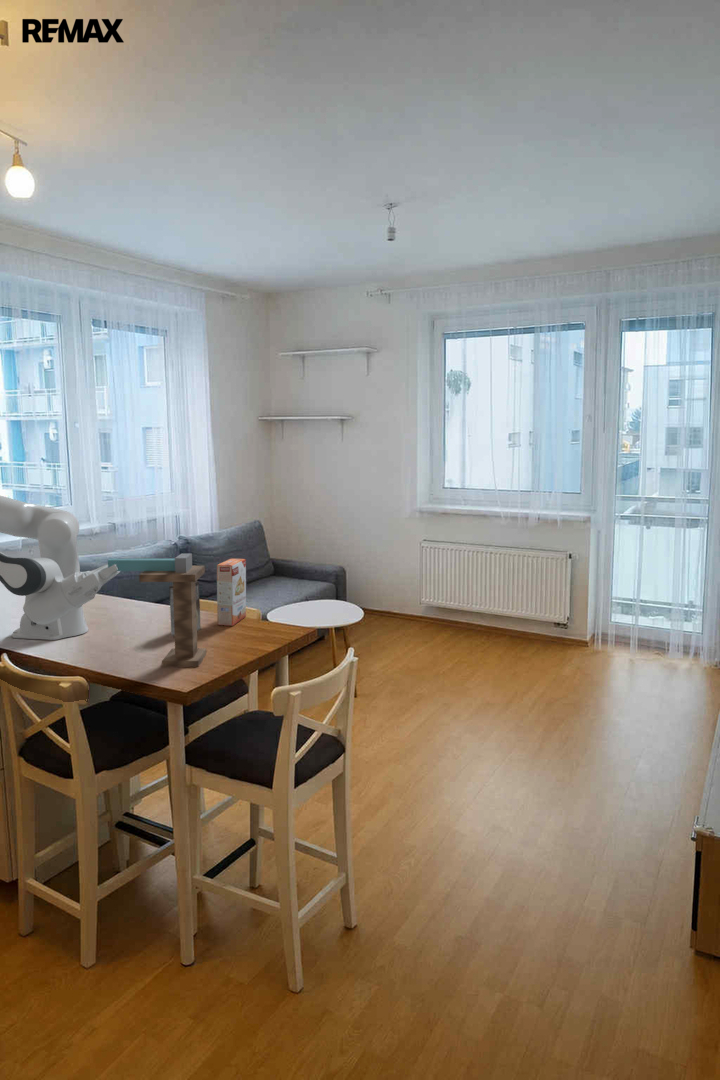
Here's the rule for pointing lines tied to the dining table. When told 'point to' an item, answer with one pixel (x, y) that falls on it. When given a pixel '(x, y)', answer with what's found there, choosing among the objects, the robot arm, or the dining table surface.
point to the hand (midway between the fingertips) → (122, 563)
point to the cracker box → (231, 591)
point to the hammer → (154, 564)
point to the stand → (181, 615)
